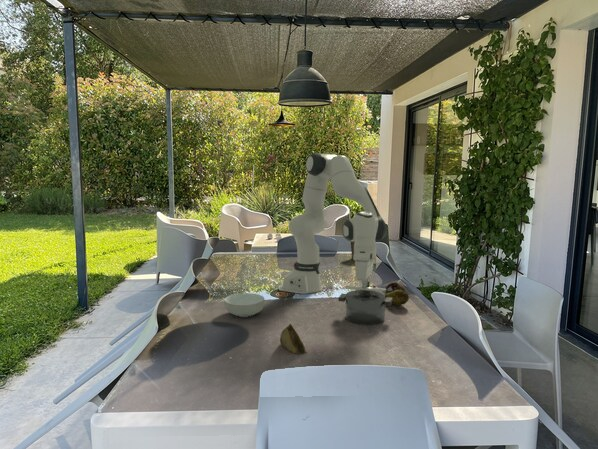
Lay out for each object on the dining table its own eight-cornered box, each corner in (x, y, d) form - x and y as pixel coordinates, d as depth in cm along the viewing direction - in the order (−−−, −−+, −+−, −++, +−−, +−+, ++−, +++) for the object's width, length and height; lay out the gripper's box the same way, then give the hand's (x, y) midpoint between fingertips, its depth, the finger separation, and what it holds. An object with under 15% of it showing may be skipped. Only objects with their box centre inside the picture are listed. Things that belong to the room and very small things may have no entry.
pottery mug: (409, 301, 210) (402, 287, 207) (391, 308, 212) (384, 295, 209) (404, 287, 221) (398, 274, 218) (387, 295, 223) (380, 282, 220)
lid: (341, 288, 178) (342, 279, 179) (349, 287, 195) (350, 280, 195) (383, 291, 173) (383, 282, 174) (388, 290, 189) (388, 282, 190)
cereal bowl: (232, 323, 180) (231, 306, 179) (219, 311, 194) (219, 296, 194) (270, 316, 188) (270, 300, 187) (256, 306, 202) (255, 290, 201)
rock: (272, 337, 159) (274, 344, 149) (286, 317, 160) (289, 323, 150) (296, 354, 160) (300, 362, 150) (310, 334, 161) (315, 341, 151)
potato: (399, 300, 209) (400, 284, 208) (411, 309, 196) (411, 291, 195) (382, 301, 207) (383, 285, 206) (393, 310, 195) (393, 292, 194)
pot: (335, 321, 181) (335, 298, 180) (344, 308, 197) (344, 287, 196) (388, 327, 174) (389, 303, 173) (393, 313, 191) (393, 291, 190)
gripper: (361, 248, 189) (361, 280, 191) (352, 256, 170) (352, 292, 171) (376, 248, 187) (376, 280, 189) (369, 257, 168) (369, 293, 169)
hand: (365, 286), depth 180 cm, fingers closed
